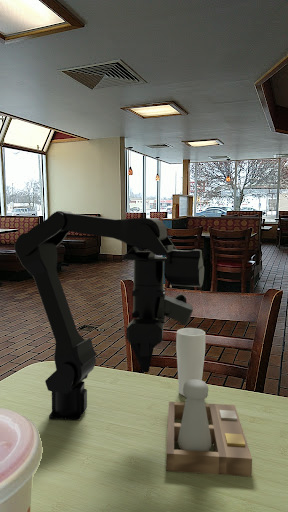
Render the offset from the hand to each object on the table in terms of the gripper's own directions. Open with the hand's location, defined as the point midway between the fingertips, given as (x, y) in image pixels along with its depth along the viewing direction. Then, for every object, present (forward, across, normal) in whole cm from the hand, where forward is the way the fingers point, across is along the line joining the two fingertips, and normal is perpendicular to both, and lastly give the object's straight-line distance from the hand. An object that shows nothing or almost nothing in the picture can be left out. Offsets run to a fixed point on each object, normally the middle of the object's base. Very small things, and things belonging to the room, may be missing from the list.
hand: (147, 363), depth 73 cm
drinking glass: (+13, +16, -9) cm, 23 cm away
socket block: (+13, -4, -11) cm, 17 cm away
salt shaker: (+13, -8, -9) cm, 18 cm away
